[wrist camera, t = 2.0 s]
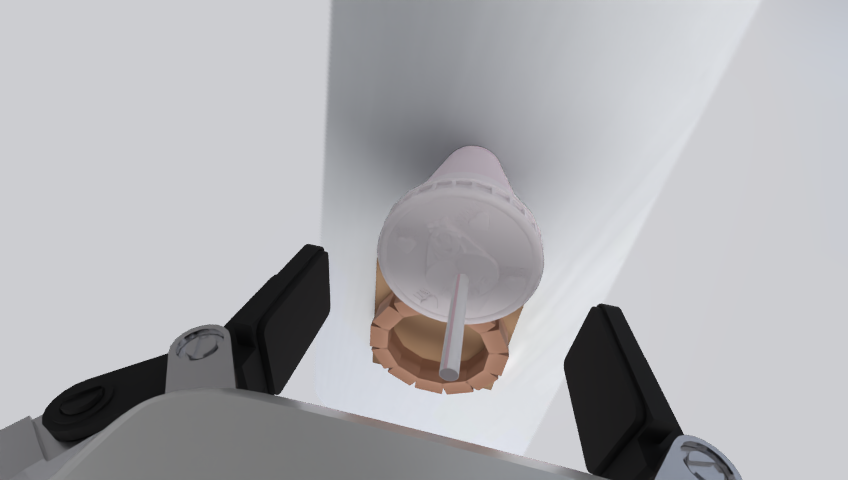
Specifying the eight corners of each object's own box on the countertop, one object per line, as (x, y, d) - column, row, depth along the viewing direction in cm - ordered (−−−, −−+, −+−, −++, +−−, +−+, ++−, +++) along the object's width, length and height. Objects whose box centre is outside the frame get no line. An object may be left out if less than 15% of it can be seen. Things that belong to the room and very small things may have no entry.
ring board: (381, 249, 25) (368, 275, 22) (528, 278, 24) (532, 309, 21) (376, 351, 31) (365, 381, 29) (491, 378, 30) (490, 411, 28)
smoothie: (444, 231, 23) (392, 435, 11) (404, 146, 20) (281, 298, 9) (537, 203, 21) (593, 422, 9) (506, 102, 18) (527, 228, 6)
